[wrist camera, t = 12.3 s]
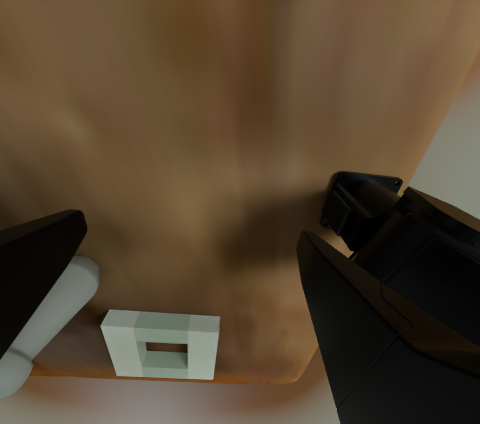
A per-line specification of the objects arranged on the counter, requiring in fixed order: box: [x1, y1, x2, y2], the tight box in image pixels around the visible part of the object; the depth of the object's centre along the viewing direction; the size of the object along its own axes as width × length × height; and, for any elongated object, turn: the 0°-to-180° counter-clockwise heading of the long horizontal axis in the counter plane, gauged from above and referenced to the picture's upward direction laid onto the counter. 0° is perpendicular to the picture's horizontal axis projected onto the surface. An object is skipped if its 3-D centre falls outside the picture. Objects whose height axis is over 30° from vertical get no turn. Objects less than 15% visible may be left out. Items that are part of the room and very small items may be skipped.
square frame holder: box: [101, 309, 220, 380], centre depth 35 cm, size 16×14×2 cm
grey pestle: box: [0, 255, 100, 399], centre depth 22 cm, size 6×6×13 cm
